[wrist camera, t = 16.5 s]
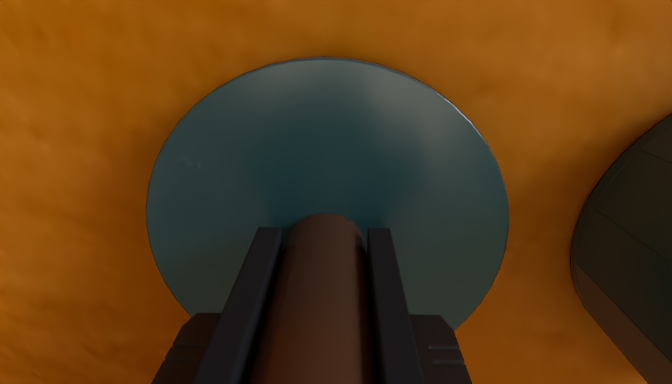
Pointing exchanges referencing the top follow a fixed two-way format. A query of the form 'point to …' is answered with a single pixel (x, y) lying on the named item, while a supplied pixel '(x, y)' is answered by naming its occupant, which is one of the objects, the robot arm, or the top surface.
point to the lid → (327, 207)
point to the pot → (631, 254)
